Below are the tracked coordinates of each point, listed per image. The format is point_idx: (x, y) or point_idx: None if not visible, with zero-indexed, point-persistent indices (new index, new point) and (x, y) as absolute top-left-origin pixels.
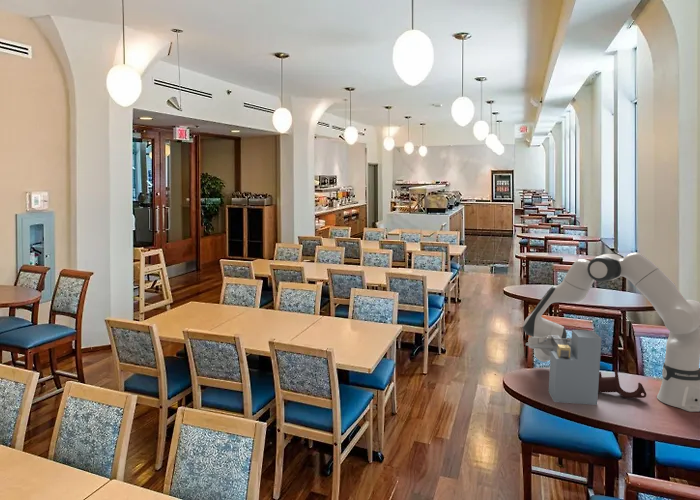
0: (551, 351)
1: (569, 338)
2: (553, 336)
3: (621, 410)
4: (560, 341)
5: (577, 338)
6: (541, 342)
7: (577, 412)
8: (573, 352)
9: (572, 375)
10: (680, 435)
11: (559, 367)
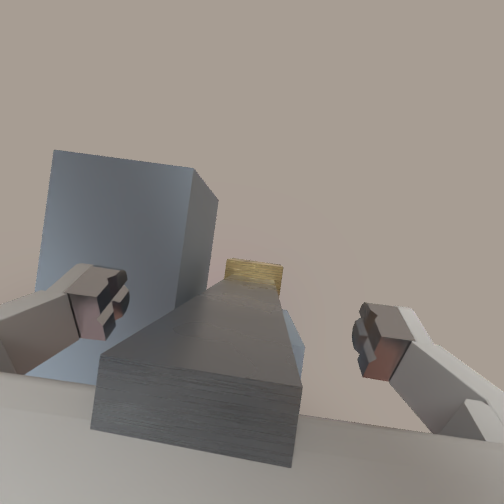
0: (301, 342)
1: (104, 267)
2: (260, 341)
3: None
4: (231, 289)
5: (213, 208)
6: (431, 425)
7: None
8: (191, 296)
9: None
10: None
11: None
